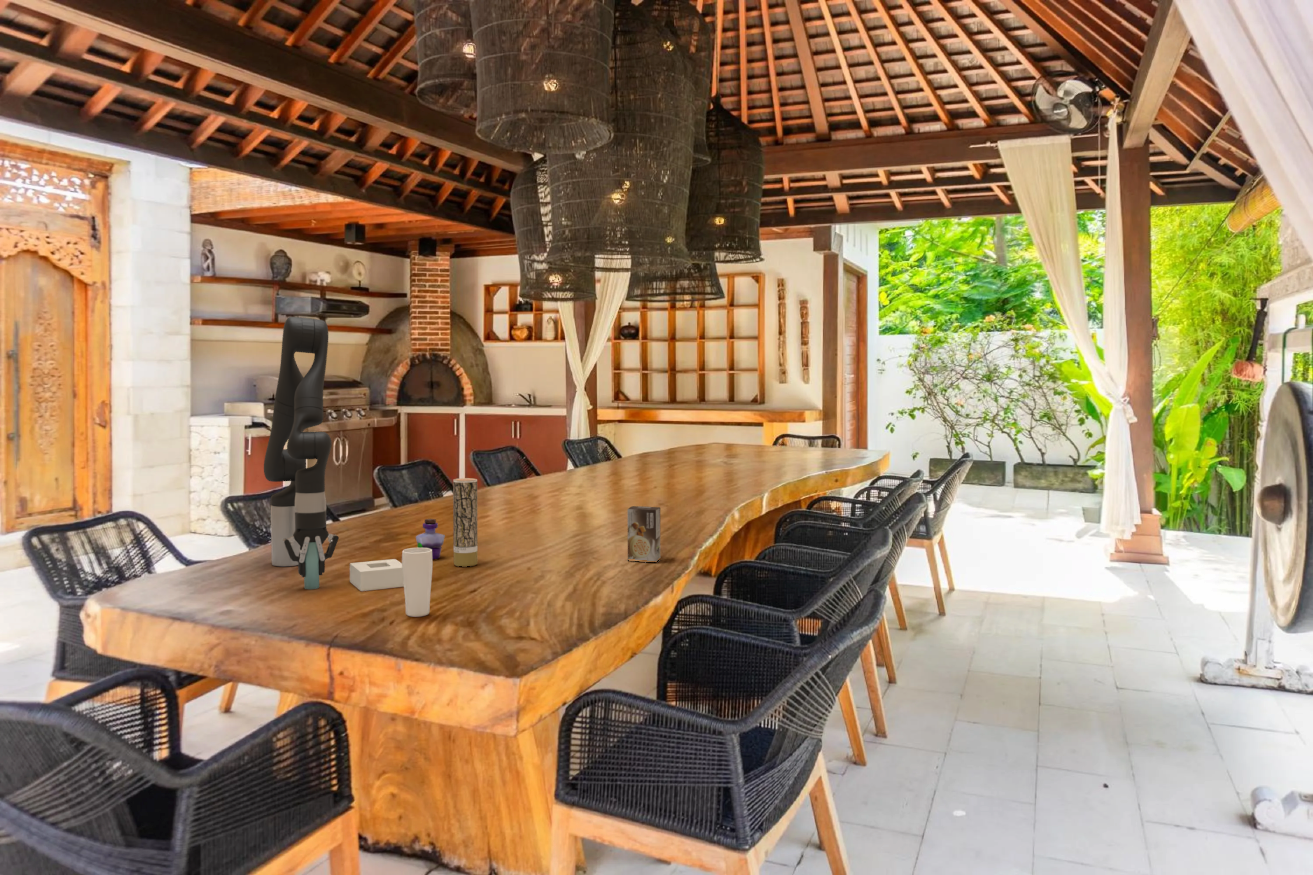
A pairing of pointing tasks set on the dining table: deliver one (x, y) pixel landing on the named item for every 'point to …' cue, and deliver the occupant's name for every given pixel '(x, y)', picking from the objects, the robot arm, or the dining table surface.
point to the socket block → (376, 574)
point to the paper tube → (465, 521)
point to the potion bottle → (431, 538)
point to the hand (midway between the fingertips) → (311, 575)
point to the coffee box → (644, 533)
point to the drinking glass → (417, 580)
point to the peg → (311, 567)
